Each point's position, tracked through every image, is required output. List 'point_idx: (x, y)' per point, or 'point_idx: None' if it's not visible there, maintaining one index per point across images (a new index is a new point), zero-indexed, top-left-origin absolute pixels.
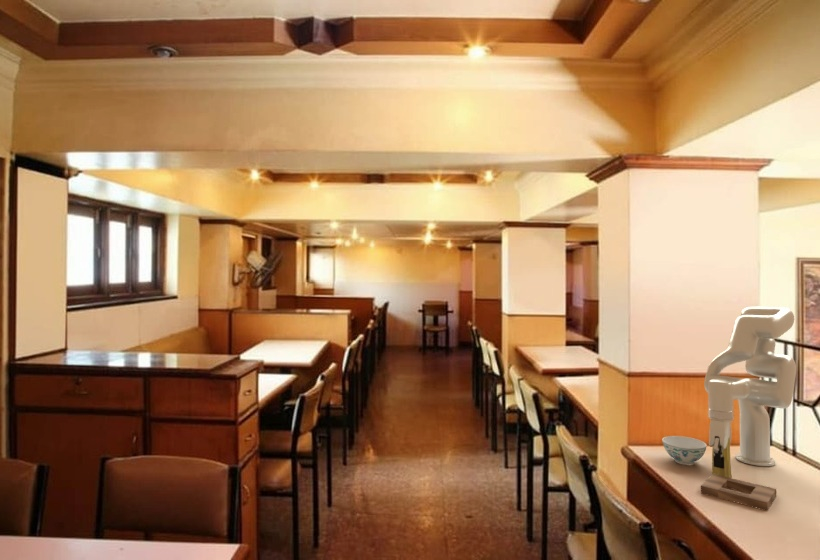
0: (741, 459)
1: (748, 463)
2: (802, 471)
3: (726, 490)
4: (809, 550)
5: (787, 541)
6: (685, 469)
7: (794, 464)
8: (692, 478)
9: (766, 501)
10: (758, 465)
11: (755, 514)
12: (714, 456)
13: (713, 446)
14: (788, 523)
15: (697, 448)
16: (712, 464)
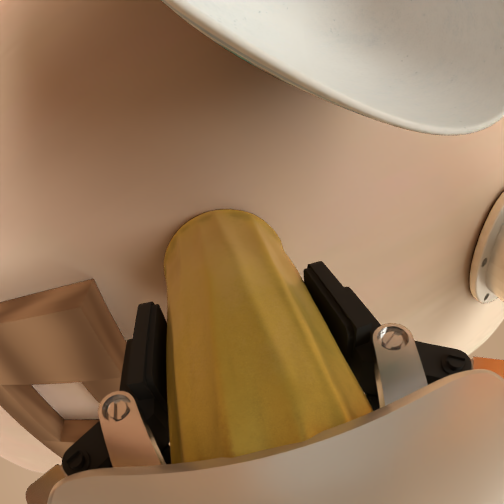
0: (492, 225)
1: (475, 251)
2: (464, 348)
3: (5, 401)
4: (30, 469)
5: (17, 457)
6: (134, 49)
7: (500, 310)
8: (19, 190)
9: None
10: (470, 280)
11: None
12: (133, 381)
13: (202, 452)
14: None
15: (275, 66)
16: (196, 260)
